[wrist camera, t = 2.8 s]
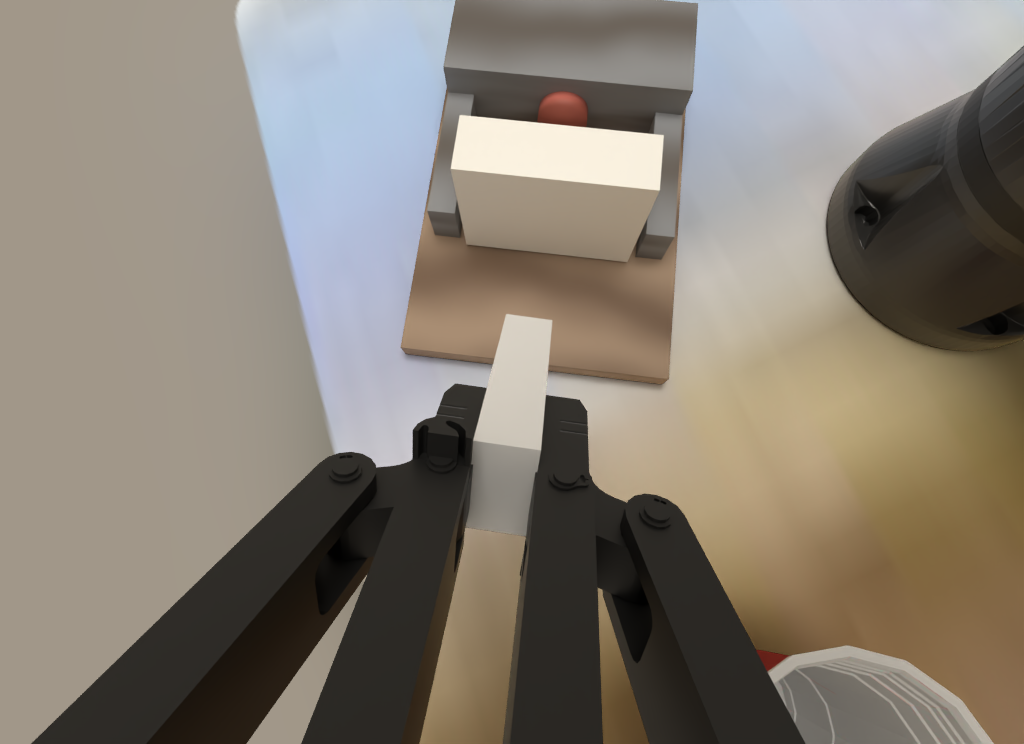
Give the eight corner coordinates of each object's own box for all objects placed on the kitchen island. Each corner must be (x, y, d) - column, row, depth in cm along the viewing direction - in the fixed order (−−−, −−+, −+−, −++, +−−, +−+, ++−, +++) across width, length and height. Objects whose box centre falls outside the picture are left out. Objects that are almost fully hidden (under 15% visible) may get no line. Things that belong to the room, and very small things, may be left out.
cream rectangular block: (627, 262, 34) (659, 190, 26) (466, 244, 34) (450, 168, 26) (631, 217, 34) (663, 135, 26) (473, 201, 35) (459, 114, 27)
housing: (662, 384, 33) (695, 357, 27) (405, 353, 34) (379, 321, 28) (681, 80, 38) (713, -3, 32) (457, 59, 39) (445, -26, 33)
